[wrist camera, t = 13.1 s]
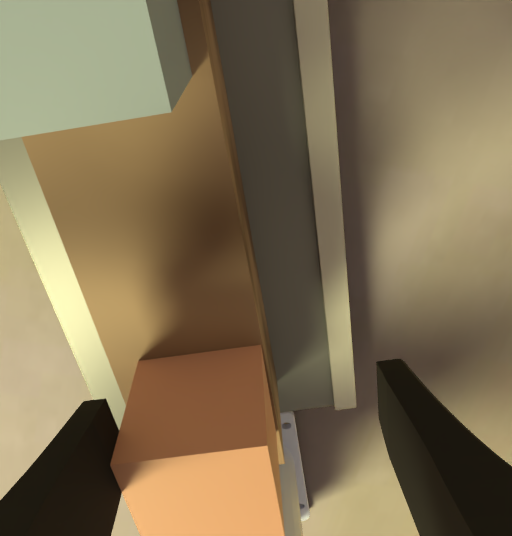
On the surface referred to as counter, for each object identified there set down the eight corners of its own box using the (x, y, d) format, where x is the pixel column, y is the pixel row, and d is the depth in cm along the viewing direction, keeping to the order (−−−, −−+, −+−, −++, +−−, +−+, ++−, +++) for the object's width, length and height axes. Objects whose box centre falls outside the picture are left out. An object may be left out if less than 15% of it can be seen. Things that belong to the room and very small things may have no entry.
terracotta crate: (276, 431, 18) (285, 540, 14) (166, 445, 18) (149, 556, 14) (261, 344, 16) (267, 445, 12) (138, 361, 16) (110, 465, 12)
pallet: (277, 381, 22) (284, 464, 18) (169, 395, 23) (155, 480, 19) (175, -199, 13) (145, -285, 9) (-11, -162, 13) (-122, -230, 9)
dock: (345, 367, 25) (356, 407, 23) (119, 398, 26) (107, 440, 24) (291, -289, 14) (302, -349, 11) (-118, -204, 14) (-193, -244, 12)
